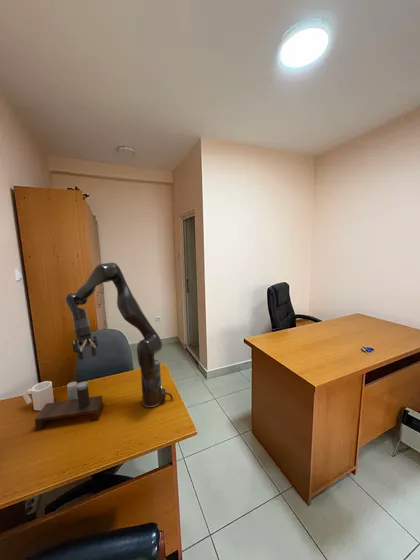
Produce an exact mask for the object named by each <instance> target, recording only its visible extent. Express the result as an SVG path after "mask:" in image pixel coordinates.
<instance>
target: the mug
mask: <svg viewBox="0 0 420 560" xmlns="http://www.w3.org/2000/svg"><path fill="white" fill-rule="evenodd" d="M30 393H31V398H32V399H31V398H30V395H29V394H30ZM22 398H23V400H24V401H25V403H26V405H29V404H30V403H32V405H33V411H39V412H41V410H42V409H43V408H44V406H45V405H46V404H47V403H54V402H55V399H54V398H55V397H54V390H53V383H52V381H50V380H45V381H42V382H38V383H36V384H35V385H33V386H32V387H31V388H29V389H27V391H26V392H25V393H24V394H23V396H22Z"/></svg>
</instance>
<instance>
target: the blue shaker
mask: <svg viewBox="0 0 420 560" xmlns="http://www.w3.org/2000/svg"><path fill="white" fill-rule="evenodd" d="M77 385H78V382H77V381H70V382H68V383H67V385H66V392H67V401H68V400H75V399H78V395H77Z"/></svg>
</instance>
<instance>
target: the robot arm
mask: <svg viewBox="0 0 420 560" xmlns="http://www.w3.org/2000/svg"><path fill="white" fill-rule="evenodd" d="M109 282H112V283H113V285H114V287H115V289H116V294H117V296H116V307H117V309H118V311H119V313H120V315H121V317H123V320H125V321H126V322H127V323H128V324H130V325H131V326H132V327H135V328H136V329H137V330H138V331H139V332H140V334H141V336H142V337H143V339H141V340H139V342H138V343H137V346H136V353H137V354H136V355H137V361H138V362H137V363H138V366H139V368H140V381H141V399H142V406H144V407H146V408H148V409H149V408H156V407H158V406H159V405H162V404H163V399H166V398H167V395H168V396H169V397H170V400H173V398H174V397H173V395H172V394H171V393H170V392H166V387H165V388H162V387H163V386H162V376H161V374H162V373H161V362H160V360H158V359H155V356H156V354H158V353H159V352H161V350H162V349H163V341H162V338H161V337H160V335H159V334H158V333H157V331H156V330H155V329H154V327H153V326H152V324H151V323H150V321H149V319H148V318H147V316H146V315H145V313H144V311H143V310H142V308H141V305H140V304H139V303H138V301H137V299H136V298H135V296H134V294H133V293H132V291H131V288H130V287H129V285H128V283H127V281H126V278H125V276H124V274H123V271H122V270H121V268H120V266H119V265H118V263H115V262H106V263H100V264H98V265H96V266H95V267H94V268H93V270H92V271H91V273H90V275H89V276H88V278H87V279H86V280H85V282H83V284H82V285H81V286H79V287H78V288H77V289H76V291H75V292H71V293H68V294H67V295H66V296H65V299H64V301H65V304H66V306H67V308H68V309H69V312H70V314H71V316H72V322H73V330H74V335H75V338H76V339H74V340H71V345H72V352H73V353H76V354H77V358H78V359H79V361H81V360H84V358H85V357H84V352H83V350H84V348H85V347H88V348H89V349H90V351H91V356H92V357H95V356H97V347H99V343H98V339H97V336H96V335H95V336H92V330H91V324H90V321H89V318H88V312H87V310H86V309H85V308H82V307H79V306H84V305H86V304H87V303H88V301H89V299H90V297H91V296H92V295H94V294H95V293H96V291H97V289H98V288H97V287H98V286H99V285H101V284H103V283H109Z"/></svg>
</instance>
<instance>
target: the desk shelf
mask: <svg viewBox="0 0 420 560" xmlns="http://www.w3.org/2000/svg"><path fill="white" fill-rule="evenodd" d="M103 400H104V399H103V395H97V396H89V401H90V404H89V405H88V406H87V407H84V408H80V407H79V404H78V399H75V400H68V399H67V400H60V401H54V403H47V404H46V405H45V406H44V408H43V409H42V410H41V411H39V413H38V414H37V416H36V417H35V418H34V422H35V423H34V424H35V430H36V431H37V430H42V429H43V428H44V426H45V425H46V423H47V421H49V420H55V419H62V418H69V417H73V416H81V415H87V414H91V417H92V421H99V420H98V419H99V417H100V415H101V411H102V410H103V407H104V401H103Z"/></svg>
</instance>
